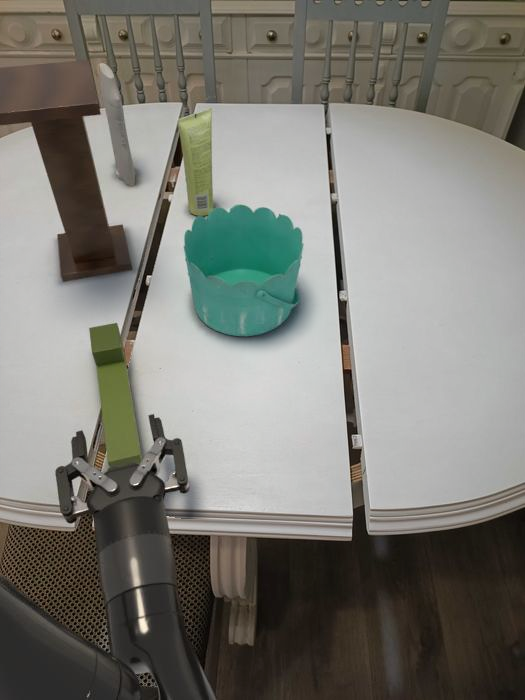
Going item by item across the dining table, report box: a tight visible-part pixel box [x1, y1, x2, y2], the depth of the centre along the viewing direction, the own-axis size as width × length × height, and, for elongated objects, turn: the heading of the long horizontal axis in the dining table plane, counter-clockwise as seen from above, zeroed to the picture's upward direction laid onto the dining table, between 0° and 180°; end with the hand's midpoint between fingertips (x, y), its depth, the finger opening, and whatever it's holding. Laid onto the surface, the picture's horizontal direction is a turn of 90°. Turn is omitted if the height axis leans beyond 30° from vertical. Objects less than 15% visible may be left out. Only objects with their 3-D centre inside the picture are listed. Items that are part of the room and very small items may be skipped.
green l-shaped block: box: [88, 322, 143, 468], centre depth 73 cm, size 4×21×6 cm, turn 16°
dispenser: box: [99, 62, 137, 187], centre depth 107 cm, size 11×4×22 cm, turn 25°
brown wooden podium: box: [0, 59, 133, 283], centre depth 83 cm, size 12×19×32 cm, turn 17°
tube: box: [177, 107, 214, 217], centre depth 100 cm, size 6×5×20 cm
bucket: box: [183, 204, 305, 337], centre depth 85 cm, size 19×18×13 cm
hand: (116, 426), depth 65 cm, fingers open, 8 cm apart
